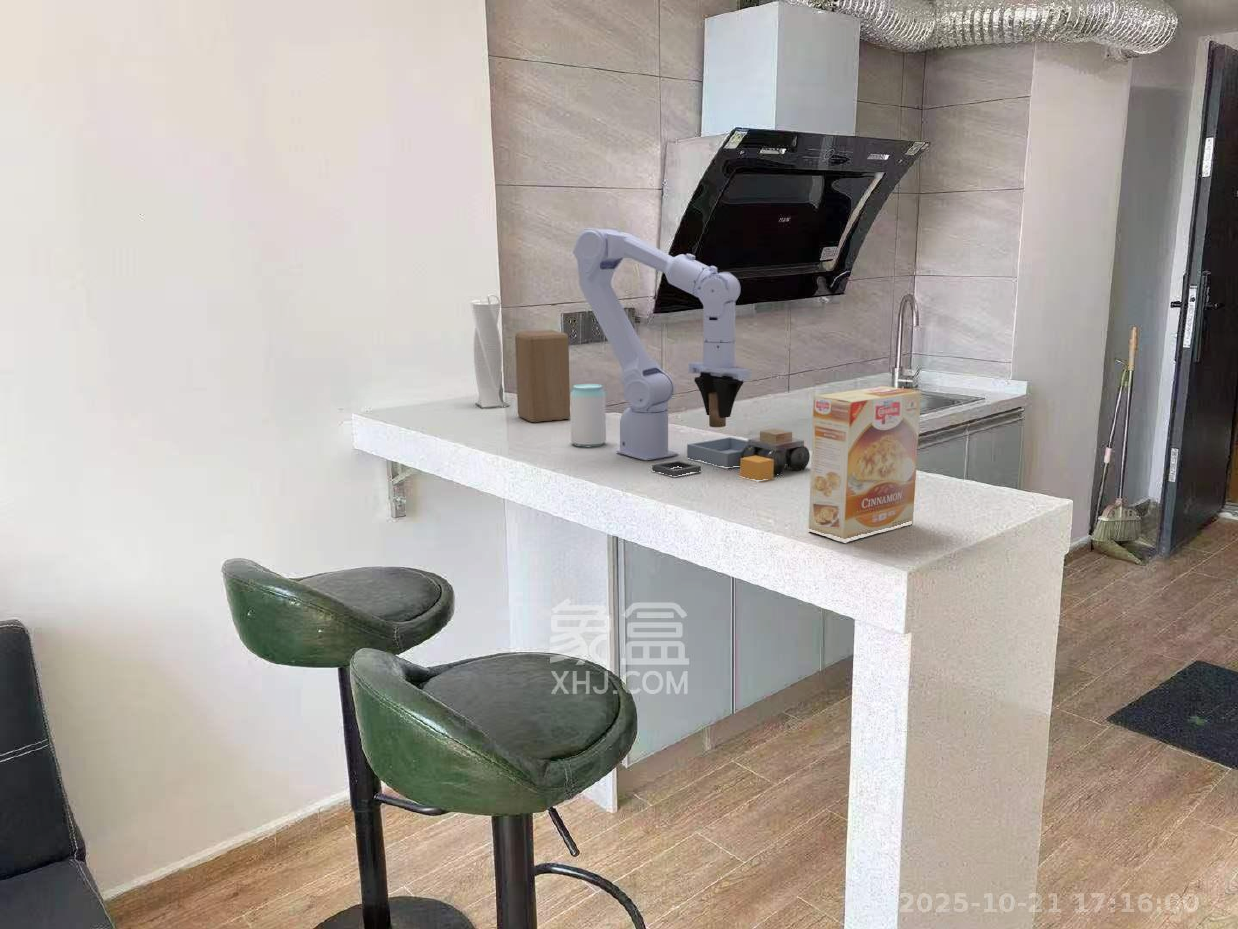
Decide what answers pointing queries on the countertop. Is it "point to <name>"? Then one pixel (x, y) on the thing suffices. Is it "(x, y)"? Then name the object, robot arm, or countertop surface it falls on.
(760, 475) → the block
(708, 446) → the tray
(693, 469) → the socket ring
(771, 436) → the trolley
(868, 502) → the coffeecake box
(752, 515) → the countertop surface
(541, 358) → the block
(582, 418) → the can
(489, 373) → the skyscraper
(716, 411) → the pin
